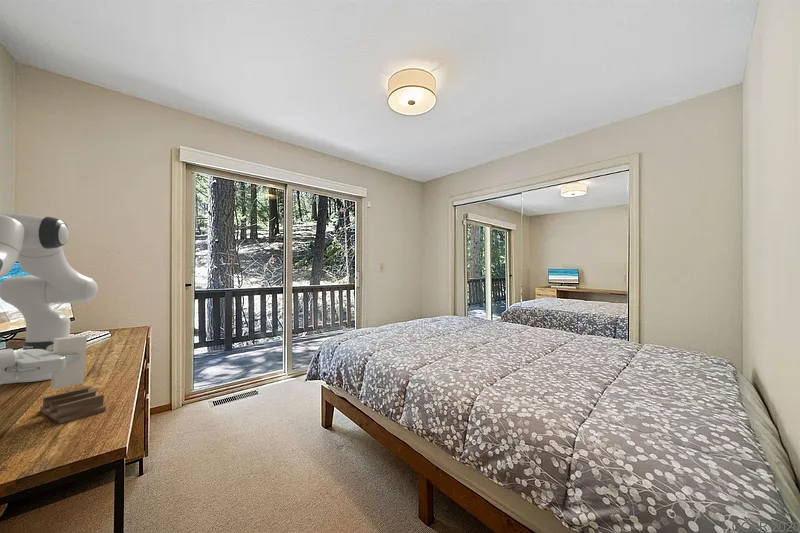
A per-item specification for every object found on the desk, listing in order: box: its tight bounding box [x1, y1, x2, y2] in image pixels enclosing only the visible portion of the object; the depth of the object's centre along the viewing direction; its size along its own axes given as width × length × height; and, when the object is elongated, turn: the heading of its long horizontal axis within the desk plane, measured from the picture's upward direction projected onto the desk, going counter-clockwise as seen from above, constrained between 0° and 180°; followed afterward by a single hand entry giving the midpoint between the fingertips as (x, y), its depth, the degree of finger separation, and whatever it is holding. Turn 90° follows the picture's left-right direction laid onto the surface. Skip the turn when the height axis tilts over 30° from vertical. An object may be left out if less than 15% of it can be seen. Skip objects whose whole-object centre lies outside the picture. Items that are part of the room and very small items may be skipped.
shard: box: [65, 385, 101, 392], centre depth 97 cm, size 11×8×2 cm
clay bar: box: [50, 334, 88, 390], centre depth 88 cm, size 3×6×14 cm, turn 153°
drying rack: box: [39, 387, 107, 425], centre depth 86 cm, size 16×9×4 cm, turn 63°
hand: (76, 355), depth 89 cm, fingers closed on clay bar, 3 cm apart
